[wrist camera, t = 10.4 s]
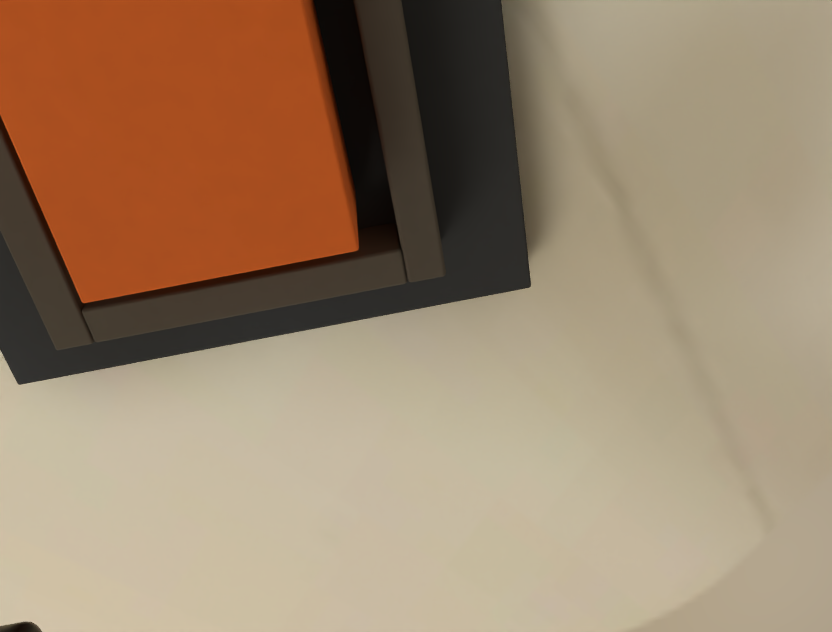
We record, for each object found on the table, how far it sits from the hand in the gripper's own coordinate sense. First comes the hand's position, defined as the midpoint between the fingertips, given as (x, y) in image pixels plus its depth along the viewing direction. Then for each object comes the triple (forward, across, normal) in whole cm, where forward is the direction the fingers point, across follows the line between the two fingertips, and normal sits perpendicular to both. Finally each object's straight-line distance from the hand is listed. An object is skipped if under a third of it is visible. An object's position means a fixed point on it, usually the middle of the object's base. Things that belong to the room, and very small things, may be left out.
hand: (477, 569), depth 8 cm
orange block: (+10, +4, -3) cm, 11 cm away
